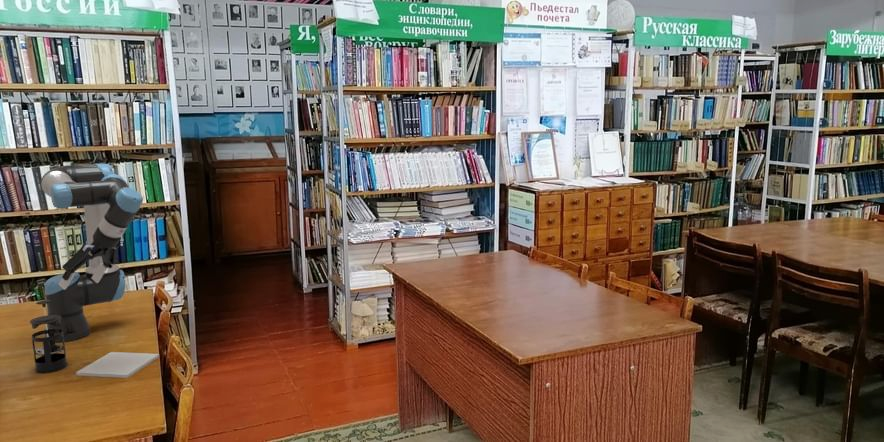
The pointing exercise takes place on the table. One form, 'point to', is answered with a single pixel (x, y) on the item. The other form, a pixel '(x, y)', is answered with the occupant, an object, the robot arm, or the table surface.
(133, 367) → the white square mat
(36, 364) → the french press
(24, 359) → the table surface
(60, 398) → the table surface
